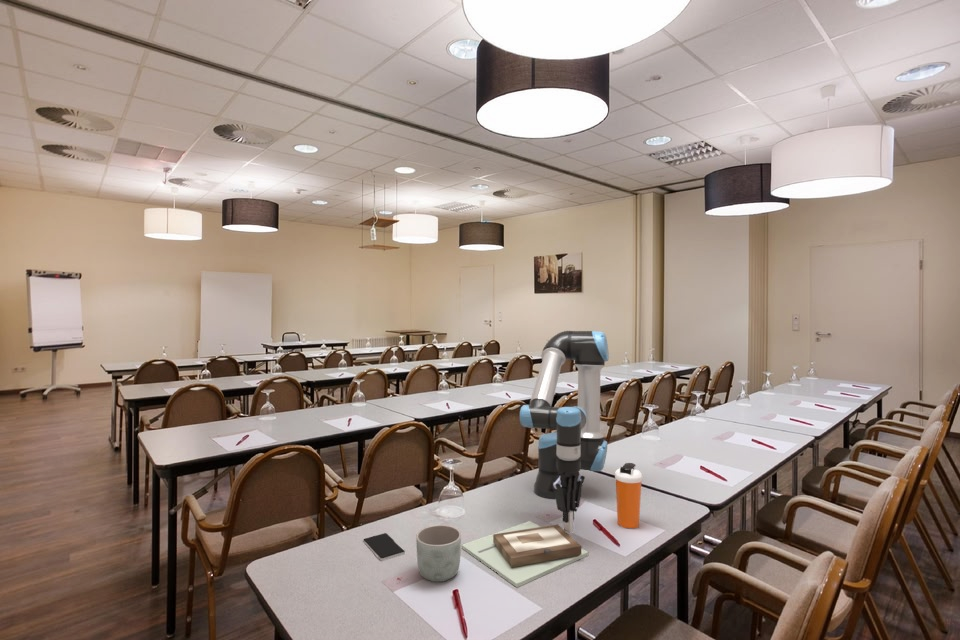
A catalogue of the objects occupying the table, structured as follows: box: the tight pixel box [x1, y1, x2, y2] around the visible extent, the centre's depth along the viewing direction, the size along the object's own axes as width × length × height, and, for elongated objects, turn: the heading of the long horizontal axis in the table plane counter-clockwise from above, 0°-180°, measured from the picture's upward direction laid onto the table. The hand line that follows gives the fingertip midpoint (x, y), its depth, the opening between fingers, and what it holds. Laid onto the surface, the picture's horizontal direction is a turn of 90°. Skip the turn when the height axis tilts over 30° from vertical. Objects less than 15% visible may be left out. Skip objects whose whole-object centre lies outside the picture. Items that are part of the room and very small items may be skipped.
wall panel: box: [461, 520, 589, 588], centre depth 146 cm, size 26×28×1 cm
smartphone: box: [363, 532, 406, 562], centre depth 149 cm, size 8×1×15 cm
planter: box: [415, 524, 462, 583], centre depth 134 cm, size 12×12×11 cm
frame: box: [492, 523, 582, 567], centre depth 144 cm, size 16×22×3 cm
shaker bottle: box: [614, 462, 643, 529], centre depth 164 cm, size 9×9×20 cm
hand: (568, 531), depth 152 cm, fingers closed
